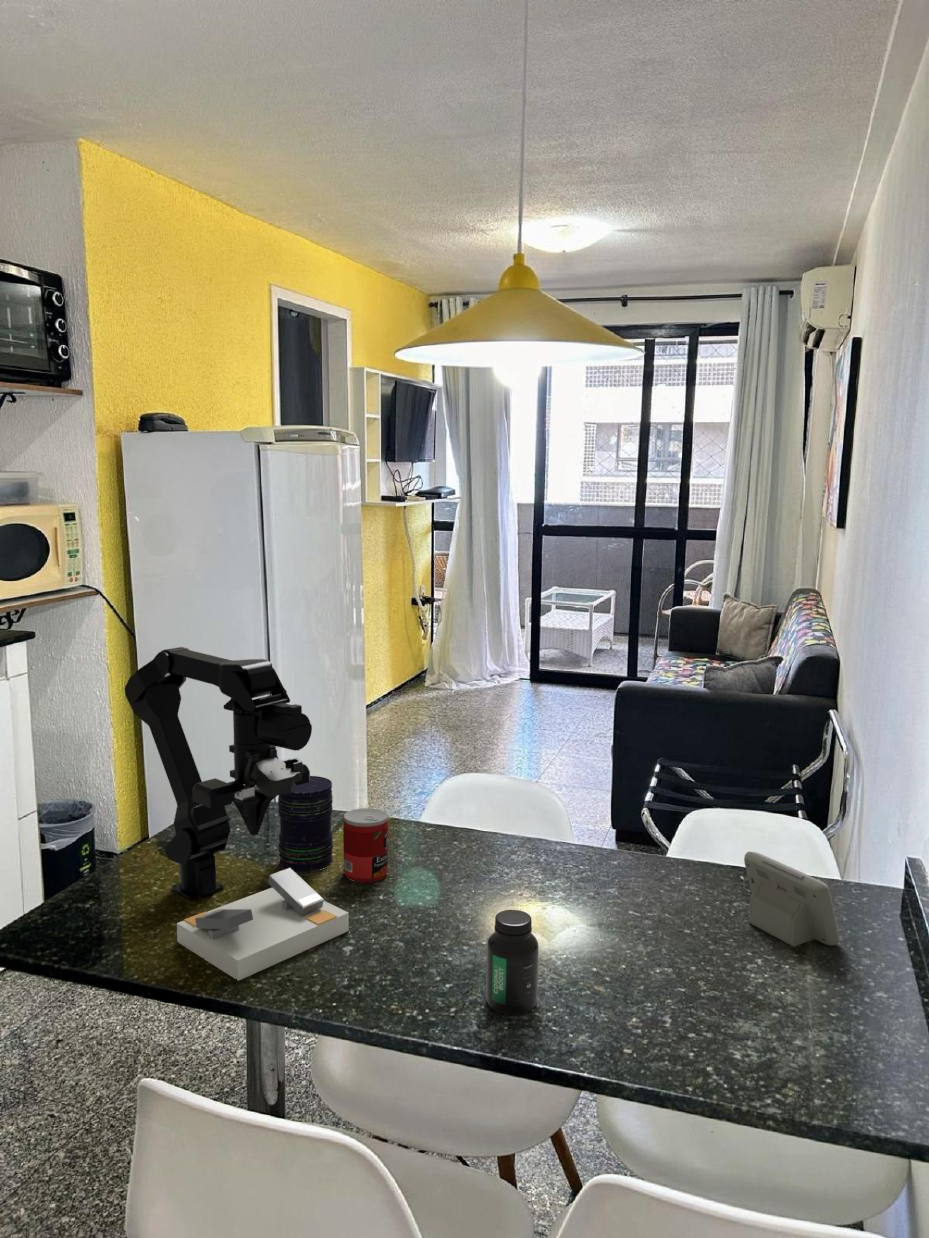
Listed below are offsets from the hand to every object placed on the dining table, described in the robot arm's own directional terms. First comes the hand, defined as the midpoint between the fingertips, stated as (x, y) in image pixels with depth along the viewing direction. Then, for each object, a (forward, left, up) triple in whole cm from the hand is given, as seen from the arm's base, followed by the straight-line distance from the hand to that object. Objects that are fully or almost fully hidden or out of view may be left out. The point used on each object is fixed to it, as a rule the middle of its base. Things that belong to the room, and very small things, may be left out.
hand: (254, 834), depth 143 cm
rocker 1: (+8, -11, -8) cm, 16 cm away
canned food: (+2, +22, -13) cm, 26 cm away
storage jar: (-10, +18, -13) cm, 24 cm away
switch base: (+8, -4, -13) cm, 16 cm away
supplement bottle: (+47, +8, -13) cm, 49 cm away
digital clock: (+66, +54, -13) cm, 86 cm away
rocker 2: (+8, +2, -8) cm, 11 cm away
